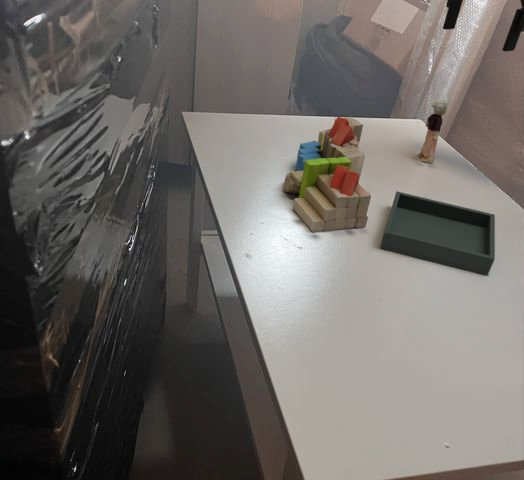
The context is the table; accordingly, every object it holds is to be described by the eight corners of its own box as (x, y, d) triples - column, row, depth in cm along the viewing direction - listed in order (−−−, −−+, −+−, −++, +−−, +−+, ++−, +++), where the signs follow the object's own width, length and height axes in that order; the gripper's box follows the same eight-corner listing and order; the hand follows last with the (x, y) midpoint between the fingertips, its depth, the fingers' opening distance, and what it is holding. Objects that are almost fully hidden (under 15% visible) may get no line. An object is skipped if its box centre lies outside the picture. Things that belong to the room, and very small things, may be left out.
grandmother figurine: (440, 165, 123) (460, 104, 115) (424, 165, 122) (443, 104, 114) (425, 149, 129) (443, 90, 120) (409, 149, 128) (426, 90, 119)
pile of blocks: (285, 142, 123) (292, 88, 116) (353, 151, 124) (364, 97, 116) (281, 228, 97) (290, 165, 89) (367, 239, 97) (384, 177, 90)
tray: (488, 229, 104) (494, 214, 102) (487, 275, 93) (494, 259, 91) (392, 206, 107) (396, 191, 105) (379, 248, 96) (384, 231, 94)
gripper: (449, -119, 98) (413, 21, 112) (583, -93, 85) (523, 62, 99) (475, -116, 102) (437, 19, 116) (608, -91, 89) (547, 58, 103)
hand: (477, 39), depth 108 cm, fingers open, 13 cm apart
